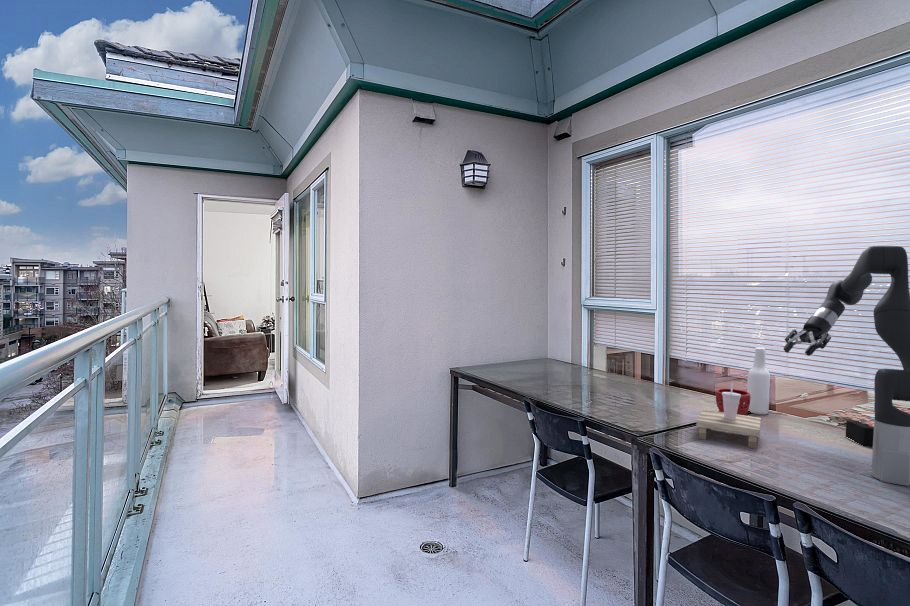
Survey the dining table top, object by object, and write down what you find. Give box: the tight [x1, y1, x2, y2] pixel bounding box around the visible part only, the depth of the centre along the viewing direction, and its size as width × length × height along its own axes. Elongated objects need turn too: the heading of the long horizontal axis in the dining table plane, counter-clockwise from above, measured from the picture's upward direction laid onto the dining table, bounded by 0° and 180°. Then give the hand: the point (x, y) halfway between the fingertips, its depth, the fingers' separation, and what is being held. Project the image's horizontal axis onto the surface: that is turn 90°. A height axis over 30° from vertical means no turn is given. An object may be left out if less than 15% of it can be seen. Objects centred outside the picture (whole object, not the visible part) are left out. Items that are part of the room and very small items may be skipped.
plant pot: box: [715, 388, 750, 416], centre depth 212 cm, size 13×13×12 cm
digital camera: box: [845, 420, 874, 448], centre depth 181 cm, size 10×5×7 cm, turn 171°
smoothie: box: [722, 381, 741, 420], centre depth 183 cm, size 6×6×14 cm
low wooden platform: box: [696, 409, 762, 449], centre depth 184 cm, size 20×20×7 cm
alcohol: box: [746, 346, 771, 416], centre depth 223 cm, size 9×9×30 cm
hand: (796, 352), depth 181 cm, fingers open, 8 cm apart
